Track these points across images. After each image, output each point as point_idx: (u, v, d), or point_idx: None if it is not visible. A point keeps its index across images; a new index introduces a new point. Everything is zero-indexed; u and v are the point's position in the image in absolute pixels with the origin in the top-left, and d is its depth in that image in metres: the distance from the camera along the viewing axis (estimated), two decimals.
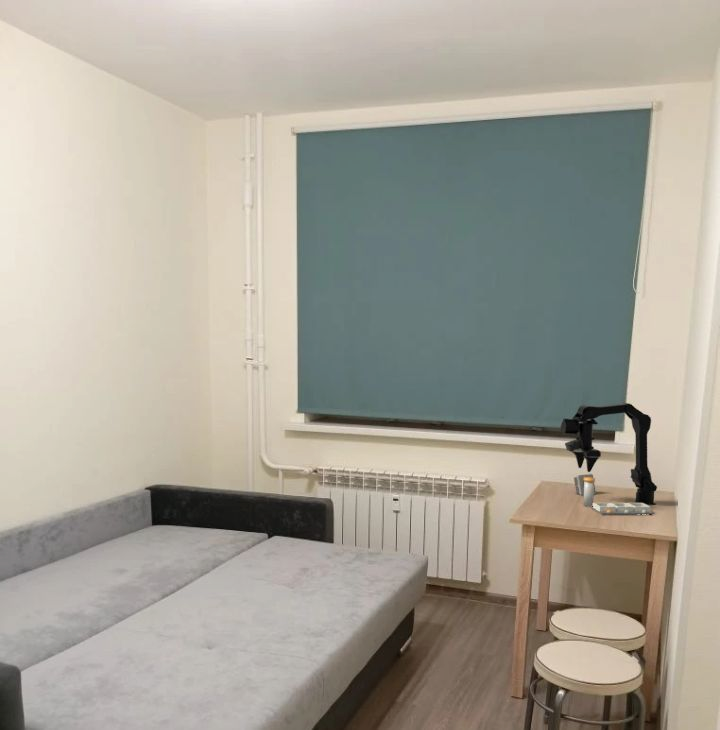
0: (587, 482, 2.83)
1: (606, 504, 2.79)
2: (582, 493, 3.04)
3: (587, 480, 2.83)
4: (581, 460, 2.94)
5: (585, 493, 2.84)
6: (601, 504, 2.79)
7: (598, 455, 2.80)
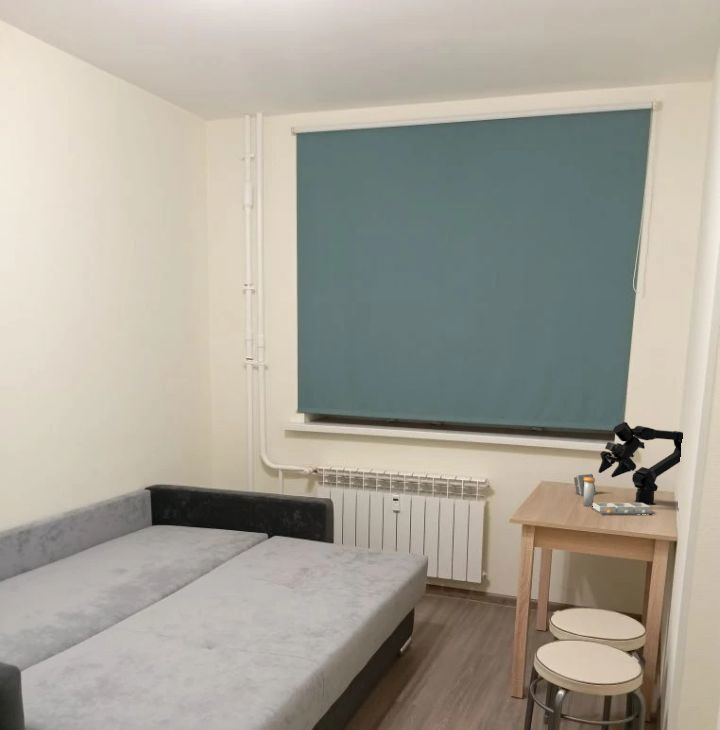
0: (587, 482, 2.83)
1: (606, 504, 2.79)
2: (582, 493, 3.04)
3: (587, 480, 2.83)
4: (604, 468, 2.92)
5: (585, 493, 2.84)
6: (601, 504, 2.79)
7: (633, 468, 2.79)
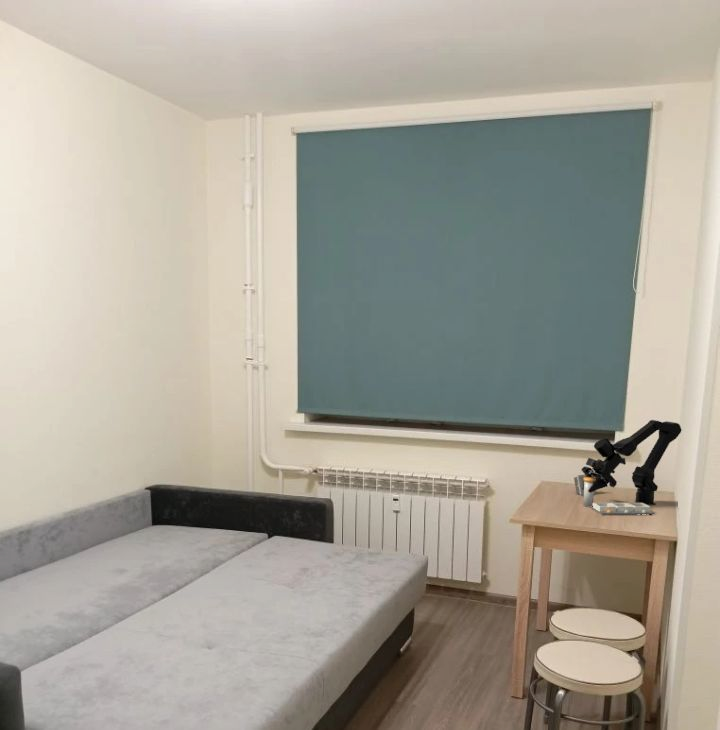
0: (587, 482, 2.83)
1: (606, 504, 2.79)
2: (582, 493, 3.04)
3: (587, 480, 2.83)
4: None
5: (585, 493, 2.84)
6: (601, 504, 2.79)
7: (613, 484, 2.77)
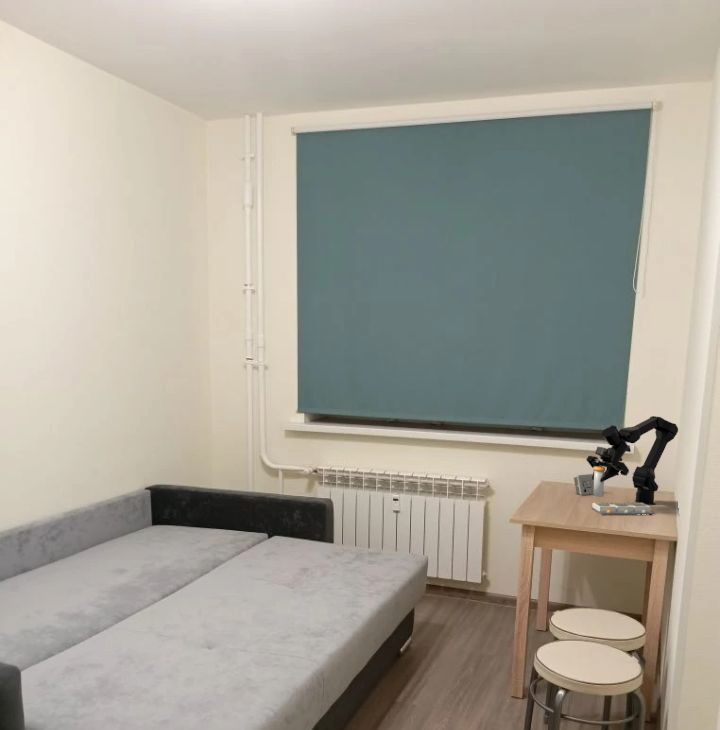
0: (598, 471, 2.76)
1: (606, 504, 2.79)
2: (582, 493, 3.04)
3: (598, 469, 2.76)
4: None
5: (596, 483, 2.77)
6: (601, 504, 2.79)
7: (626, 472, 2.73)
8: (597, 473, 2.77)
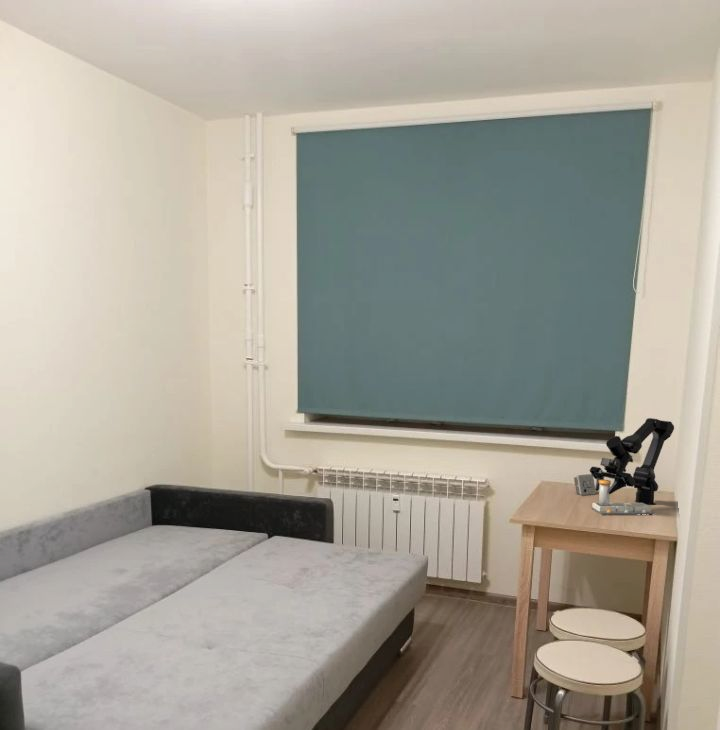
0: (604, 485, 2.74)
1: None
2: (582, 493, 3.04)
3: (605, 483, 2.73)
4: None
5: (602, 497, 2.74)
6: None
7: (633, 484, 2.71)
8: (603, 487, 2.74)
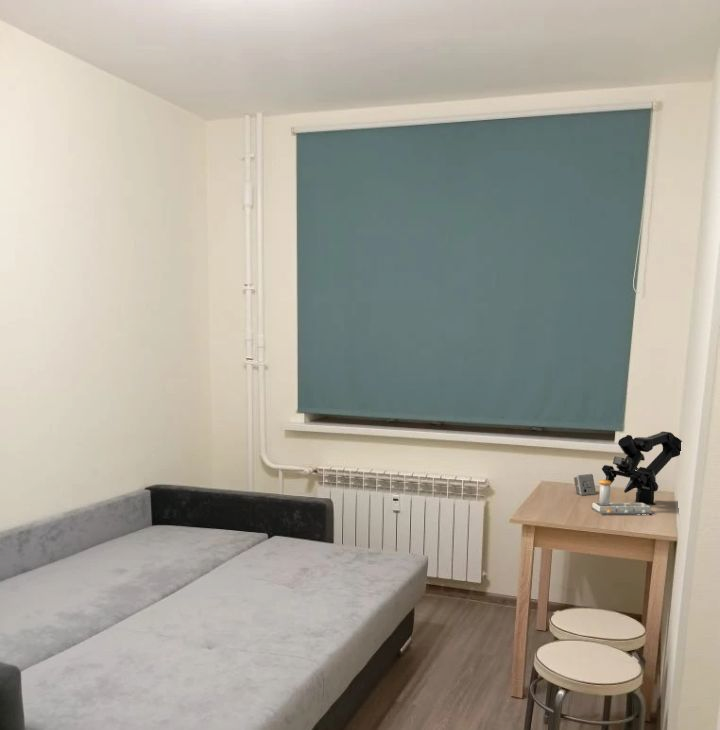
0: (605, 485, 2.74)
1: None
2: (582, 493, 3.04)
3: (605, 483, 2.73)
4: None
5: (602, 497, 2.74)
6: None
7: (645, 482, 2.76)
8: (603, 487, 2.74)
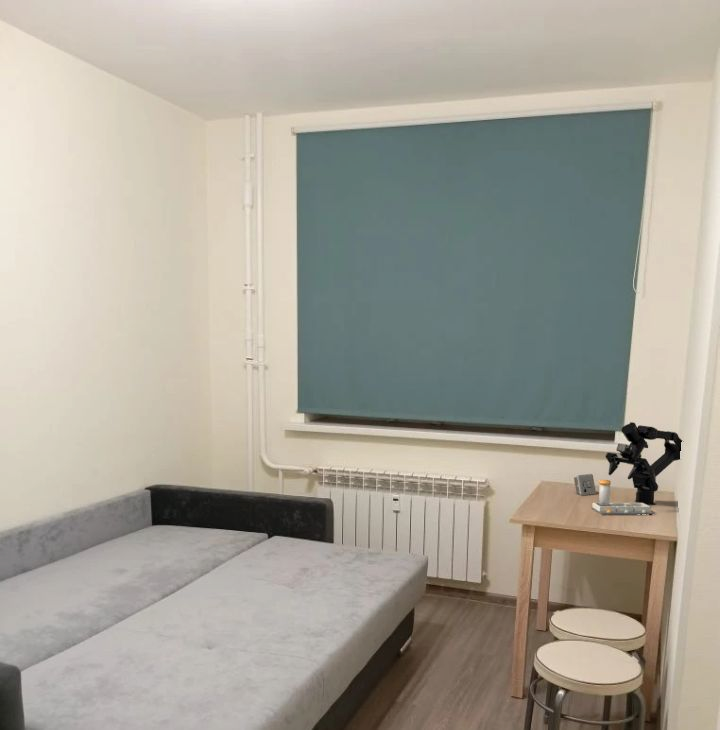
0: (604, 485, 2.74)
1: None
2: (582, 493, 3.04)
3: (605, 483, 2.73)
4: (613, 469, 2.87)
5: (602, 497, 2.74)
6: None
7: (648, 468, 2.77)
8: (603, 487, 2.74)
